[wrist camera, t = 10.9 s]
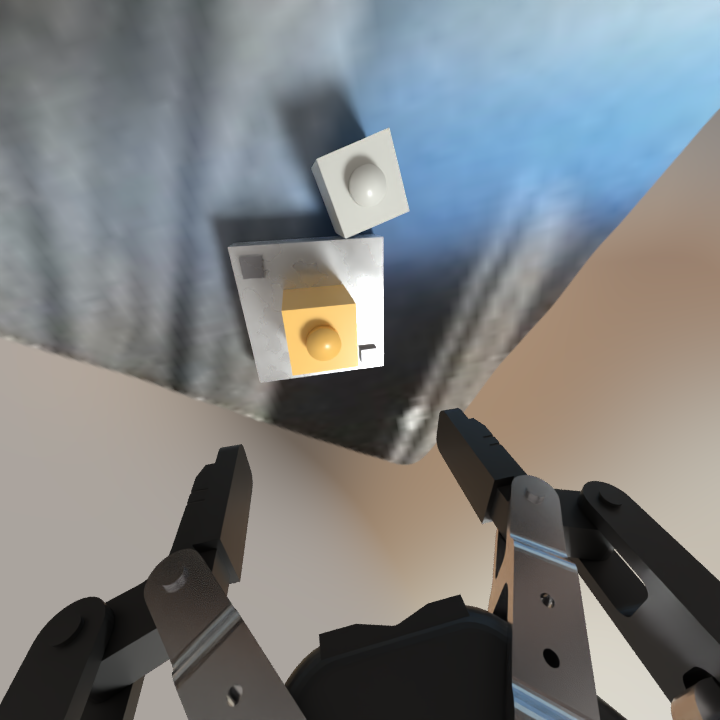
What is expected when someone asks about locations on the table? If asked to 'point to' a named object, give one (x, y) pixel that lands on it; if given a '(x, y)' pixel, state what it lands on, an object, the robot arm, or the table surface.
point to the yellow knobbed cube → (320, 329)
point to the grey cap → (361, 184)
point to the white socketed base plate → (303, 270)
